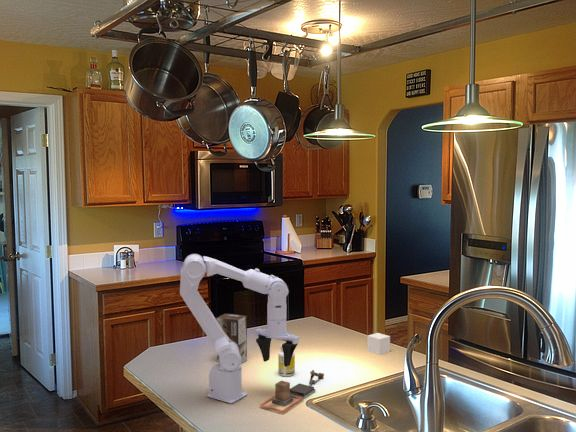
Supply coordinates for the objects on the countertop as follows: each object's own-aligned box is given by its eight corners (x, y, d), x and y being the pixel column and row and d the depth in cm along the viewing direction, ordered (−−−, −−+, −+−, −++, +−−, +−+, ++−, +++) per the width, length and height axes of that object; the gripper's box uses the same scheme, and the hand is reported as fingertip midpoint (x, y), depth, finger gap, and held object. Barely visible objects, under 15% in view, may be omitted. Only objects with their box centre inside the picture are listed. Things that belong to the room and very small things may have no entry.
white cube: (377, 348, 208) (377, 332, 208) (389, 351, 204) (390, 336, 203) (367, 351, 204) (367, 335, 204) (379, 355, 200) (379, 339, 199)
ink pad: (287, 394, 163) (287, 389, 163) (298, 387, 168) (298, 382, 168) (304, 399, 160) (304, 394, 160) (315, 391, 165) (315, 386, 165)
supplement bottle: (296, 372, 182) (296, 343, 181) (292, 377, 177) (292, 348, 176) (280, 370, 183) (281, 341, 183) (276, 376, 178) (276, 346, 177)
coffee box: (247, 360, 193) (247, 315, 192) (238, 365, 188) (238, 319, 186) (225, 356, 197) (225, 312, 196) (216, 361, 191) (216, 316, 190)
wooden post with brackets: (306, 383, 169) (309, 369, 171) (316, 386, 176) (319, 372, 177) (311, 384, 169) (314, 370, 170) (321, 387, 175) (324, 373, 176)
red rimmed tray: (259, 407, 154) (259, 404, 154) (280, 394, 163) (280, 392, 163) (283, 414, 149) (283, 411, 149) (303, 401, 158) (303, 398, 158)
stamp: (271, 403, 156) (271, 384, 155) (280, 397, 159) (280, 379, 159) (284, 406, 153) (284, 387, 153) (293, 401, 157) (293, 382, 156)
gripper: (304, 319, 161) (304, 364, 162) (265, 312, 169) (265, 354, 170) (291, 324, 155) (291, 370, 156) (251, 317, 163) (251, 361, 164)
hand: (276, 363), depth 163 cm, fingers open, 7 cm apart
